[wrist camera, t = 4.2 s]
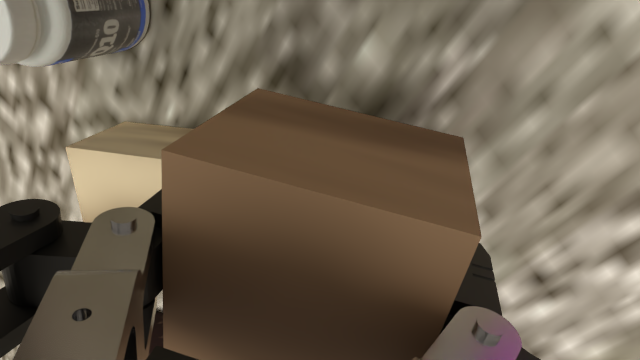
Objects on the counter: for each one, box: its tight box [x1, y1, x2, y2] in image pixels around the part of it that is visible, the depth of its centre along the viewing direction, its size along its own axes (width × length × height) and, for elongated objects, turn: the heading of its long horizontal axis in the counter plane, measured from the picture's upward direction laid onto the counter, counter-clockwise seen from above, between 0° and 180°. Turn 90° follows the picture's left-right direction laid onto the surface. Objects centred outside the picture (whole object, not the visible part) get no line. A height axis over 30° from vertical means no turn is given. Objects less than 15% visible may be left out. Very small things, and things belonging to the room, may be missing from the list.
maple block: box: [66, 122, 193, 222], centre depth 25 cm, size 8×8×5 cm
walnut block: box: [161, 88, 481, 360], centre depth 11 cm, size 6×6×5 cm
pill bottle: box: [0, 0, 150, 67], centre depth 19 cm, size 5×5×8 cm
